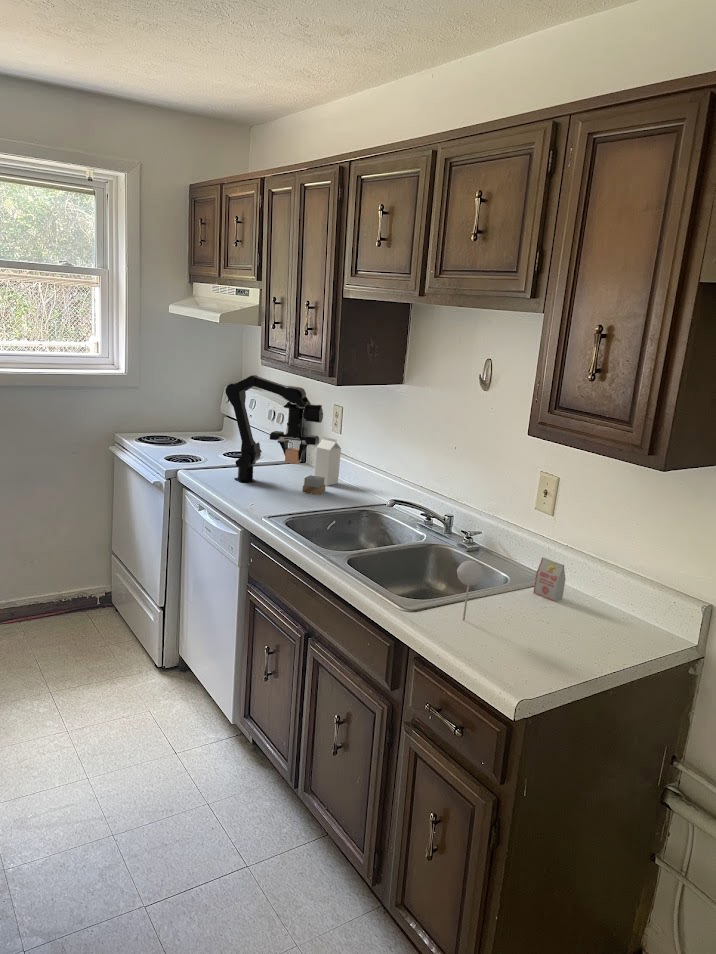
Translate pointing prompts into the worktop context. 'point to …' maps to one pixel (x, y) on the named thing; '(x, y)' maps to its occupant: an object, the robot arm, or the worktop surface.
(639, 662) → the worktop surface
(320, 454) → the milk carton
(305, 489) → the tower bottom
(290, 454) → the terracotta cube
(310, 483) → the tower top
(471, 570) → the lollipop
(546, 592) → the white printed box
